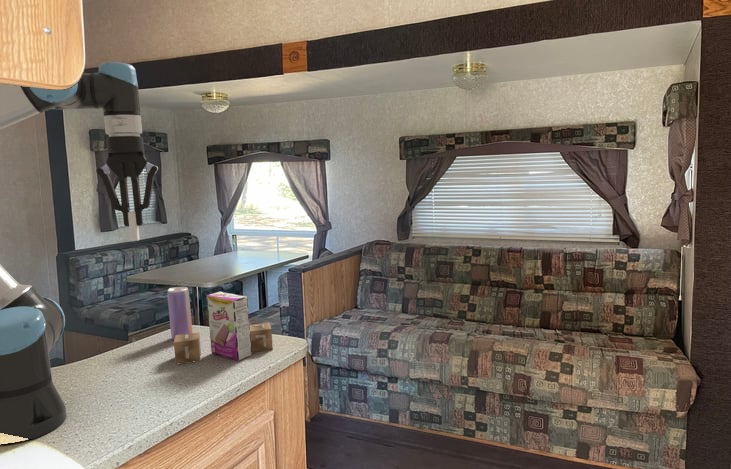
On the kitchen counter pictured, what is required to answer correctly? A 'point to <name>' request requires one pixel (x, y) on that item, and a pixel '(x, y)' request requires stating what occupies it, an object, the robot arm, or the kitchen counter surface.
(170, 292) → the beverage can
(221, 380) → the kitchen counter surface
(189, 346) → the walnut block one
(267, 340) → the walnut block seven
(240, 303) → the candy bar box
